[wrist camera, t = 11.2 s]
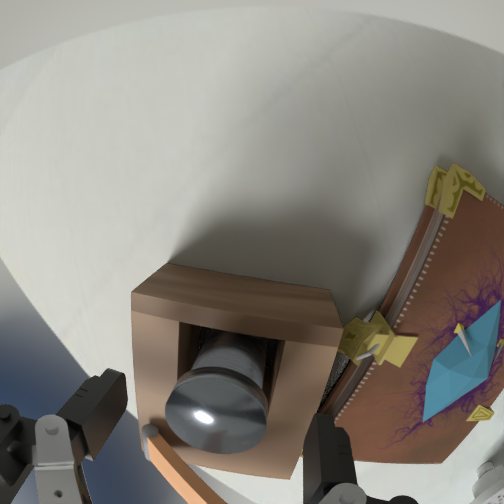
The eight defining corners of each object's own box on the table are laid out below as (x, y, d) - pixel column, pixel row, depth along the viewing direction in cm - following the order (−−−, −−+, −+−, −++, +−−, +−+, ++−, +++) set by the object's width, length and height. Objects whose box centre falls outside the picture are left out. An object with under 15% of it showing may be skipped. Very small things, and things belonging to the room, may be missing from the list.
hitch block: (166, 263, 19) (131, 291, 14) (329, 290, 19) (343, 328, 14) (163, 407, 22) (142, 450, 17) (290, 430, 22) (289, 479, 17)
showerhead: (446, 541, 17) (507, 489, 14) (432, 497, 24) (482, 442, 21) (497, 525, 16) (551, 473, 14) (481, 488, 23) (527, 436, 21)
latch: (153, 421, 17) (138, 426, 16) (253, 521, 11) (237, 532, 10) (155, 448, 17) (142, 453, 17) (245, 539, 11) (232, 548, 11)
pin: (211, 292, 19) (164, 373, 11) (279, 303, 19) (275, 394, 11) (206, 349, 20) (165, 441, 12) (268, 361, 20) (258, 460, 12)
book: (559, 203, 16) (599, 214, 11) (432, 441, 23) (449, 477, 18) (423, 94, 15) (466, 77, 11) (278, 418, 22) (279, 468, 17)
